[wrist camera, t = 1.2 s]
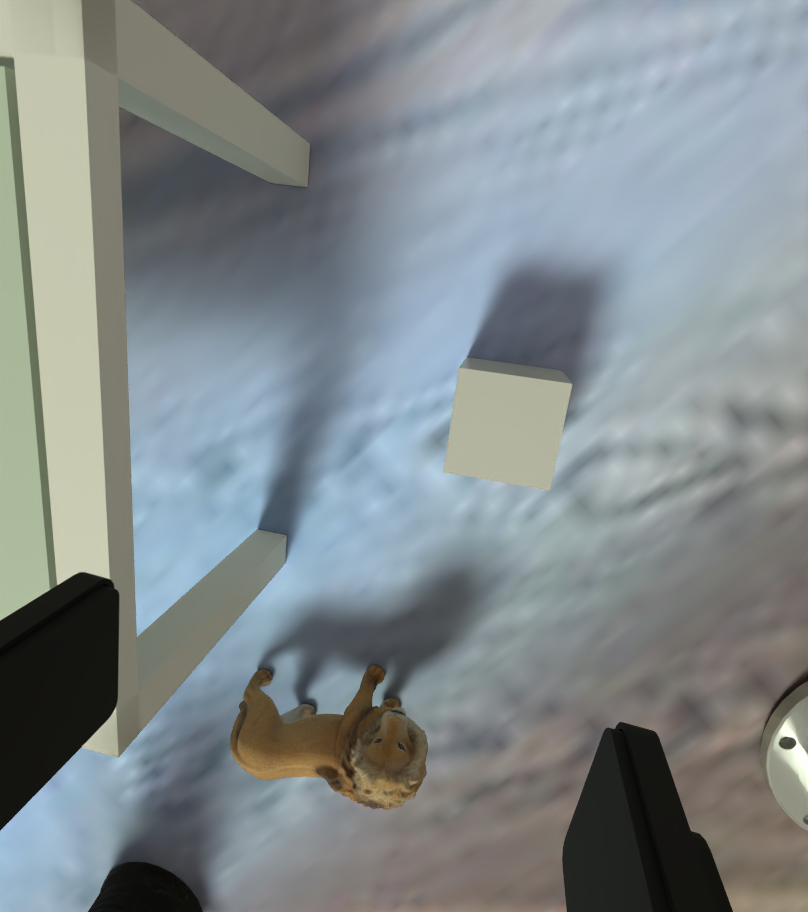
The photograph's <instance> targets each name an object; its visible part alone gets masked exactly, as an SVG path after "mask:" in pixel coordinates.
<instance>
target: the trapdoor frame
mask: <svg viewBox="0 0 808 912" xmlns="http://www.w3.org/2000/svg"><path fill="white" fill-rule="evenodd" d="M0 66H5V67H7V68H9V69H11V70H15V77H16V89H17V102H18V114H19V126H20V138H21V150H22V163H23V175H24V187H25V199H26V211H27V223H28V236H29V248H30V260H31V272H32V284H33V297H34V309H35V321H36V333H37V345H38V358H39V370H40V382H41V394H42V406H43V418H44V431H45V443H46V455H47V467H48V479H49V492H50V504H51V516H52V528H53V540H54V553H55V565H56V577H57V585H59V584H60V583H62V582H63V581H65V580H67V579H68V578H70V577H71V576H73V575H75V574H77V573H79V572H86V573H90V574H93V575H97V576H100V577H104V578H108V579H110V580H112V582H113V583H114V588H115V589H116V590H118V592H119V596H120V599H119V662H118V701H117V705H116V708H115V710H114V712H113V713H112V715H111V717H110V718H109V719H108V720H107V721H106V722H105V723H104V724H103V725H102V726H101V727H100V728H99V730H98V731H97V732H96V733H95V734H94V735H93V736H92V737H91V738H90V739H89V740H88V741H87V742H86V743H85V744H84V745H83V746H82V748H86V749H89V750H93V751H97V752H100V753H104V754H108V755H111V756H115V757H119V756H120V755H121V754H122V753H123V752H124V751H125V749H126V748H127V747H128V746H129V745H130V744H131V742H132V741H133V740H134V739H135V738H136V737H137V735H138V734H139V733H140V732H141V731H142V730H143V728H144V727H145V726H146V725H147V724H148V723H149V721H150V720H151V719H152V718H153V717H154V716H155V714H156V713H157V712H158V711H159V710H160V709H161V707H162V706H163V705H164V704H165V703H166V702H167V701H168V699H169V698H170V697H171V696H172V695H173V694H174V692H175V691H176V690H177V689H178V688H179V687H180V685H181V684H182V683H183V682H184V681H185V680H186V678H187V677H188V676H189V675H190V674H191V673H192V671H193V670H194V669H195V668H196V667H197V666H198V664H199V663H200V662H201V661H202V660H203V659H204V657H205V656H206V655H207V654H208V653H209V652H210V650H211V649H212V648H213V647H214V646H215V645H216V643H217V642H218V641H219V640H220V639H221V638H222V637H223V635H224V634H225V633H226V632H227V631H228V630H229V628H230V627H231V626H232V625H233V624H234V623H235V621H236V620H237V619H238V618H239V617H240V616H241V614H242V613H243V612H244V611H245V610H246V609H247V607H248V606H249V605H250V604H251V603H252V602H253V600H254V599H255V598H256V597H257V596H258V595H259V593H260V592H261V591H262V590H263V589H264V588H265V586H266V585H267V584H268V583H269V582H270V581H271V580H272V578H273V577H274V576H275V575H276V574H277V573H278V571H279V570H280V569H281V568H282V567H283V566H284V564H285V559H286V542H287V535H283V534H278V533H273V532H268V531H263V530H258V529H257V530H256V531H255V532H254V533H253V534H251V535H250V536H249V537H248V538H247V539H246V540H245V541H244V542H243V543H241V544H240V545H239V546H238V547H237V548H236V549H235V550H234V551H233V552H231V553H230V554H229V555H228V556H227V557H226V558H225V559H224V560H223V561H221V562H220V563H219V564H218V565H217V566H216V567H215V568H214V569H212V570H211V571H210V572H209V573H208V574H207V575H206V576H205V577H204V578H202V579H201V580H200V581H199V582H198V583H197V584H196V585H195V586H194V587H192V588H191V589H190V590H189V591H188V592H187V593H186V594H185V595H184V596H182V597H181V598H180V599H179V600H178V601H177V602H176V603H175V604H174V605H172V606H171V607H170V608H169V609H168V610H167V611H166V612H165V613H163V614H162V615H161V616H160V617H159V618H158V619H157V620H156V621H155V622H153V623H152V624H151V625H150V626H149V627H148V628H147V629H146V630H145V631H143V632H142V633H141V634H140V635H139V636H138V637H137V634H136V604H135V574H134V544H133V514H132V485H131V455H130V425H129V395H128V365H127V335H126V306H125V276H124V246H123V216H122V186H121V156H120V127H119V107H121V108H123V109H125V110H127V111H129V112H131V113H133V114H135V115H137V116H139V117H141V118H143V119H145V120H147V121H149V122H151V123H153V124H155V125H157V126H159V127H161V128H163V129H165V130H167V131H169V132H170V133H172V134H174V135H176V136H178V137H180V138H182V139H184V140H186V141H188V142H190V143H192V144H194V145H196V146H198V147H200V148H202V149H204V150H206V151H208V152H210V153H212V154H214V155H216V156H218V157H220V158H222V159H224V160H226V161H228V162H230V163H232V164H234V165H236V166H238V167H240V168H242V169H244V170H246V171H248V172H250V173H252V174H254V175H256V176H258V177H260V178H262V179H264V180H266V181H268V182H270V183H272V184H282V185H292V186H302V187H308V173H309V156H310V143H308V142H307V141H306V140H305V139H303V138H302V137H301V136H300V135H298V134H297V133H296V132H295V131H293V130H292V129H291V128H290V127H288V126H287V125H286V124H285V123H283V122H282V121H281V120H280V119H278V118H277V117H276V116H275V115H273V114H272V113H271V112H270V111H268V110H267V109H266V108H265V107H264V106H262V105H261V104H260V103H259V102H257V101H256V100H255V99H254V98H252V97H251V96H250V95H249V94H247V93H246V92H245V91H244V90H242V89H241V88H240V87H239V86H237V85H236V84H235V83H234V82H232V81H231V80H230V79H229V78H227V77H226V76H225V75H224V74H222V73H221V72H220V71H219V70H217V69H216V68H215V67H214V66H212V65H211V64H210V63H209V62H207V61H206V60H205V59H204V58H202V57H201V56H200V55H199V54H197V53H196V52H195V51H194V50H192V49H191V48H190V47H189V46H187V45H186V44H185V43H184V42H182V41H181V40H180V39H179V38H177V37H176V36H175V35H174V34H172V33H171V32H170V31H169V30H167V29H166V28H165V27H164V26H163V25H161V24H160V23H159V22H158V21H156V20H155V19H154V18H153V17H151V16H150V15H149V14H148V13H146V12H145V11H144V10H143V9H141V8H140V7H139V6H138V5H136V4H135V3H134V2H133V1H131V0H0Z"/></svg>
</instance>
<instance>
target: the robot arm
mask: <svg viewBox="0 0 808 912" xmlns="http://www.w3.org/2000/svg"><path fill="white" fill-rule="evenodd" d="M119 599H120V596H119V592H118V590H116V589H115V588H114V583H113V582H112V580H110V579H108V578H104V577H100V576H97V575H93V574H90V573H86V572H79V573H77V574H75V575H73V576H71V577H70V578H68V579H67V580H65V581H63V582H62V583H60V584H59V585H57V586H55V587H54V588H52V589H50V590H49V591H47V592H46V593H44V594H42V595H41V596H39V597H37V598H36V599H34V600H33V601H31V602H29V603H28V604H26V605H25V606H23V607H21V608H20V609H18V610H16V611H15V612H13V613H12V614H10V615H8V616H7V617H5V618H3V619H2V620H0V830H1V829H2V828H3V827H4V826H5V825H6V824H7V823H8V822H9V821H10V820H11V819H12V818H13V817H14V816H15V815H16V814H17V813H18V812H19V811H20V810H21V809H22V808H23V807H24V806H25V805H26V804H27V803H28V802H29V800H30V799H31V798H32V797H33V796H34V795H35V794H36V793H37V792H38V791H39V790H40V789H41V788H42V787H43V786H44V785H45V784H46V783H47V782H48V781H49V780H50V779H51V778H52V777H53V776H54V775H55V774H56V773H57V772H58V771H59V770H60V769H61V768H62V767H63V766H64V764H65V763H66V762H67V761H68V760H69V759H70V758H71V757H72V756H73V755H74V754H75V753H76V752H77V751H78V750H79V749H80V748H81V747H82V746H83V745H84V744H85V743H86V742H87V741H88V740H89V739H90V738H91V737H92V736H93V735H94V734H95V733H96V732H97V731H98V730H99V728H100V727H101V726H102V725H103V724H104V723H105V722H106V721H107V720H108V719H109V718H110V717H111V715H112V713H113V712H114V710H115V708H116V705H117V701H118V662H119ZM760 754H761V766H762V769H763V772H764V775H765V778H766V781H767V783H768V785H769V787H770V789H771V790H772V792H773V794H774V796H775V798H776V800H777V802H778V803H779V804H780V805H781V807H782V808H783V809H784V811H785V812H786V813H787V814H788V816H789V817H791V818H792V819H793V820H794V821H795V822H796V823H797V824H798V825H799V826H801V827H802V828H803V829H805V830H807V831H808V681H807V682H805V683H804V684H802V685H800V686H799V687H798V688H796V689H795V690H794V691H793V692H792V693H791V694H789V695H788V696H787V697H786V698H785V699H784V700H783V701H782V702H781V703H780V705H779V706H778V707H777V708H776V710H775V711H774V712H773V714H772V715H771V717H770V719H769V721H768V723H767V725H766V727H765V730H764V732H763V737H762V742H761V747H760ZM562 861H563V874H564V885H565V896H566V907H567V912H733V911H732V908H731V905H730V902H729V900H728V897H727V894H726V891H725V889H724V886H723V883H722V881H721V878H720V875H719V872H718V870H717V867H716V864H715V861H714V859H713V856H712V853H711V851H710V849H709V846H708V844H707V842H706V840H705V839H704V838H703V837H702V836H701V835H700V834H698V833H695V832H692V831H691V830H690V828H689V825H688V822H687V819H686V816H685V813H684V810H683V807H682V804H681V801H680V798H679V795H678V792H677V789H676V787H675V784H674V781H673V778H672V775H671V772H670V769H669V766H668V763H667V760H666V757H665V754H664V751H663V748H662V745H661V743H660V740H659V737H658V735H657V733H656V732H654V731H652V730H648V729H645V728H641V727H638V726H634V725H630V724H627V723H623V722H619V723H618V724H617V726H616V728H615V729H612V728H606V729H605V730H604V733H603V735H602V738H601V740H600V743H599V746H598V749H597V752H596V754H595V757H594V760H593V763H592V765H591V768H590V771H589V774H588V776H587V779H586V782H585V785H584V787H583V790H582V793H581V796H580V798H579V801H578V804H577V807H576V810H575V812H574V815H573V818H572V821H571V823H570V826H569V829H568V832H567V834H566V837H565V841H564V846H563V858H562Z"/></svg>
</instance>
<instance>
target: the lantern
mask: <svg viewBox="0 0 808 912" xmlns="http://www.w3.org/2000/svg"><path fill="white" fill-rule="evenodd" d="M88 912H202V910H201V907H200V904H199V902H198V899H197V898H196V897H195V895H194V894H193V893H192V891H191V890H190V889H189V887H188V886H187V885H186V884H185V883H184V882H183V881H181V880H180V879H179V878H177V877H176V876H175V875H173V874H172V873H170V872H168V871H166V870H164V869H162V868H160V867H158V866H154V865H151V864H148V863H137V862H128V863H125V864H122V865H120V866H117V867H116V868H115V869H113V870H112V871H111V872H110V874H109V875H108V876H107V878H106V879H105V881H104V883H103V885H102V888H101V891H100V894H99V896H98V897H97V899H96V900H95V902H94V903H93V905H92V906H91V908H90V909H89V911H88Z"/></svg>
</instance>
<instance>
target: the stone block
mask: <svg viewBox="0 0 808 912" xmlns="http://www.w3.org/2000/svg"><path fill="white" fill-rule="evenodd" d="M571 389H572V383H571V381H570V380H569V379H568V377H567V376H566V375H565V374H564V372H563V371H562V370H555V369H548V368H541V367H534V366H527V365H520V364H513V363H505V362H498V361H491V360H484V359H477V358H470V357H467V358H466V359H465V360H464V362H463V363H462V364H461V366H460V367H459V371H458V378H457V385H456V391H455V398H454V405H453V412H452V418H451V425H450V432H449V438H448V445H447V452H446V459H445V465H444V472H446V473H452V474H457V475H463V476H469V477H475V478H481V479H486V480H492V481H498V482H504V483H510V484H515V485H521V486H527V487H533V488H539V489H544V490H550V488H551V483H552V478H553V473H554V469H555V464H556V459H557V455H558V450H559V445H560V441H561V436H562V431H563V426H564V422H565V417H566V412H567V408H568V403H569V398H570V394H571Z"/></svg>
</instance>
